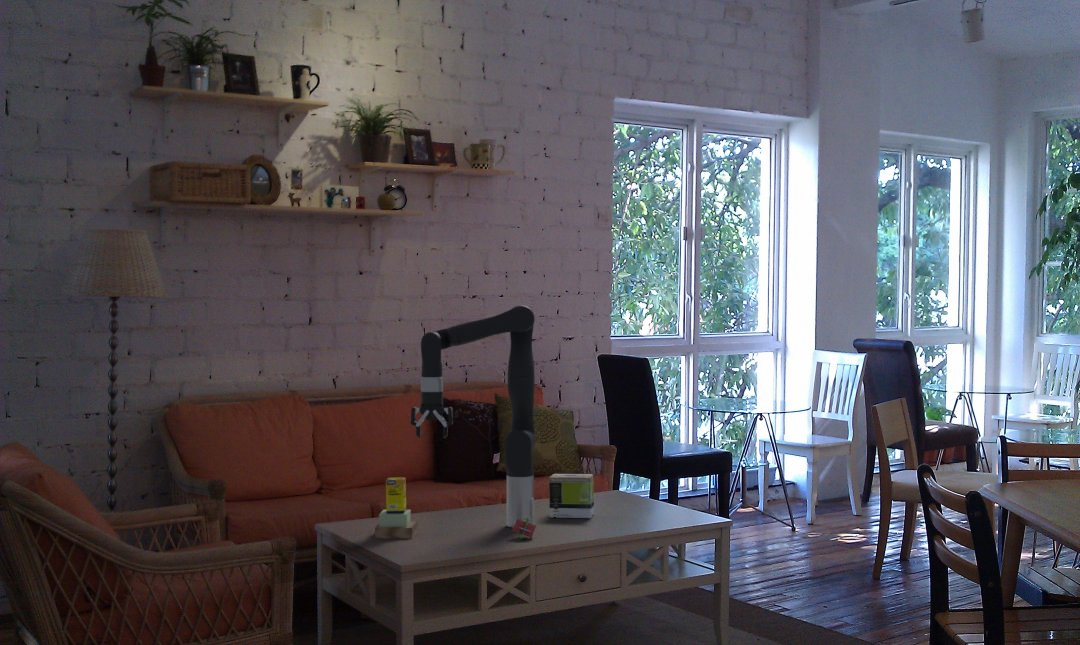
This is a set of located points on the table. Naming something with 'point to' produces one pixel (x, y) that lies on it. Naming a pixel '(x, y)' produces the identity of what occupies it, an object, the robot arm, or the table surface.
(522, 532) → the geometric puzzle
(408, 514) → the sage top slab
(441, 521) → the table surface
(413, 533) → the walnut base slab
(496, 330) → the robot arm
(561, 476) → the tea box
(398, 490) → the supplement box
